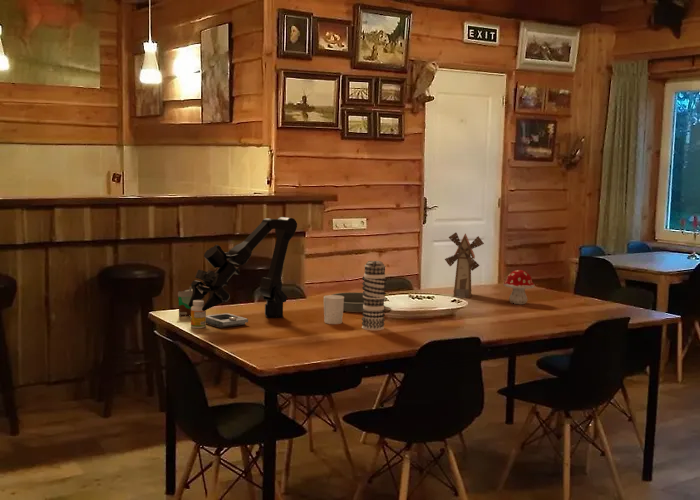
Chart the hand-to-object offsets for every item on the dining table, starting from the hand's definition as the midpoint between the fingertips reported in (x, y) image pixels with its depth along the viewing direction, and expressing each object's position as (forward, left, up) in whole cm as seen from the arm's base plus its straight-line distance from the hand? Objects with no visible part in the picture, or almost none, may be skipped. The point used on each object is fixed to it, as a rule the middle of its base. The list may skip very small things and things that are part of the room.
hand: (195, 308), depth 300 cm
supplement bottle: (-1, -1, -7) cm, 7 cm away
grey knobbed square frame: (-10, -6, -7) cm, 14 cm away
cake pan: (-68, -35, -7) cm, 77 cm away
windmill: (-124, -60, -7) cm, 138 cm away
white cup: (-52, -5, -7) cm, 53 cm away
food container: (+1, -24, -7) cm, 25 cm away
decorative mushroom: (-143, -40, -7) cm, 148 cm away
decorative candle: (-65, +6, -7) cm, 66 cm away
